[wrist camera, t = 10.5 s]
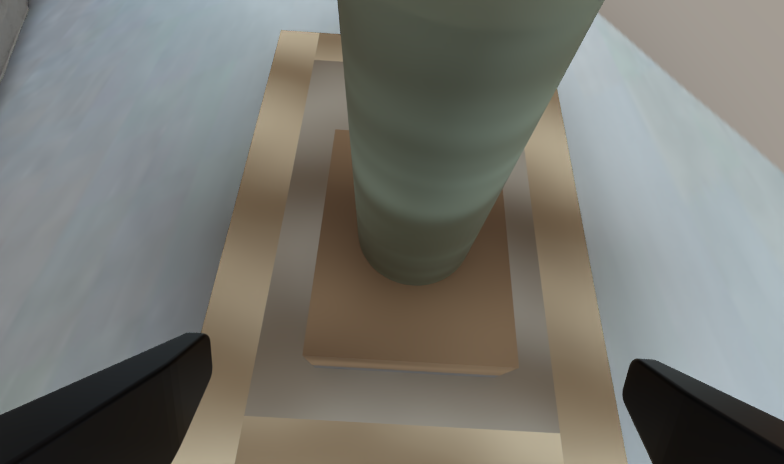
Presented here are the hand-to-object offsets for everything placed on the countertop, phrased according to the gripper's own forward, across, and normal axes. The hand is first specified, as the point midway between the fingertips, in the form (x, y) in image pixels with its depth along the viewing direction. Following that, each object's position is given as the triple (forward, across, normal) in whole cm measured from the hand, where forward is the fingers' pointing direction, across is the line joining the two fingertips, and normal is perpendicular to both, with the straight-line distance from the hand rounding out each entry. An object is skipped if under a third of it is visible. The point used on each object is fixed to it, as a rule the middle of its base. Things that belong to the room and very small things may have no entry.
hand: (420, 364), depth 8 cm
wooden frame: (+8, 0, 0) cm, 8 cm away
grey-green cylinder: (+7, 0, 0) cm, 7 cm away
